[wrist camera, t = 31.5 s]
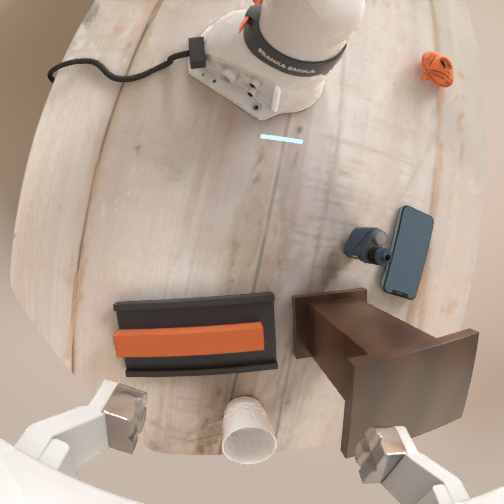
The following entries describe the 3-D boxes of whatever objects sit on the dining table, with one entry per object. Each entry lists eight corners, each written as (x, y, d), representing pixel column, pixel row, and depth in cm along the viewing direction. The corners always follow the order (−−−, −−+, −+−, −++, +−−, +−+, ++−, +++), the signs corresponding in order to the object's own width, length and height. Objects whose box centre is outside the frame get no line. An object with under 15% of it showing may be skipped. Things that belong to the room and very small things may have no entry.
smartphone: (435, 218, 48) (415, 301, 48) (430, 218, 50) (410, 299, 50) (403, 203, 47) (381, 291, 48) (398, 203, 49) (377, 289, 49)
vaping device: (340, 254, 48) (375, 262, 36) (354, 224, 48) (393, 224, 36) (353, 261, 49) (391, 271, 37) (367, 232, 48) (407, 234, 37)
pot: (406, 56, 47) (429, 42, 40) (428, 62, 49) (450, 50, 43) (421, 91, 47) (445, 78, 41) (442, 95, 50) (465, 84, 43)
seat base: (129, 371, 46) (126, 377, 44) (117, 301, 45) (113, 304, 43) (275, 363, 48) (277, 368, 46) (272, 291, 48) (274, 294, 46)
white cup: (246, 384, 48) (252, 417, 38) (276, 412, 49) (287, 446, 39) (211, 410, 48) (210, 445, 38) (241, 436, 49) (246, 472, 39)
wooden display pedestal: (288, 356, 49) (345, 458, 23) (285, 296, 48) (354, 365, 22) (367, 343, 50) (461, 417, 24) (368, 287, 49) (479, 332, 23)
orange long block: (122, 350, 45) (116, 357, 42) (118, 329, 45) (112, 335, 42) (261, 342, 47) (264, 350, 44) (260, 321, 47) (263, 327, 44)
